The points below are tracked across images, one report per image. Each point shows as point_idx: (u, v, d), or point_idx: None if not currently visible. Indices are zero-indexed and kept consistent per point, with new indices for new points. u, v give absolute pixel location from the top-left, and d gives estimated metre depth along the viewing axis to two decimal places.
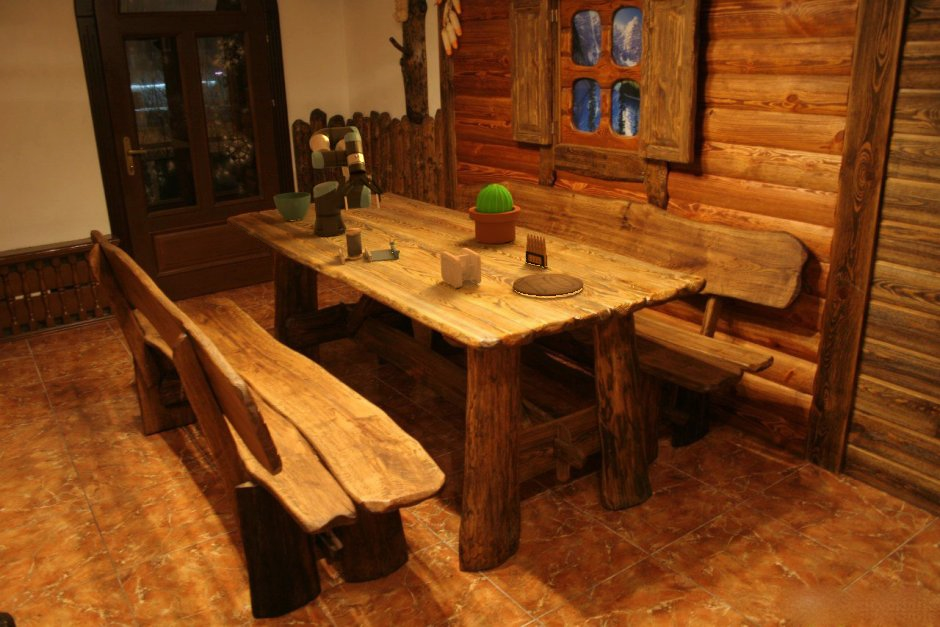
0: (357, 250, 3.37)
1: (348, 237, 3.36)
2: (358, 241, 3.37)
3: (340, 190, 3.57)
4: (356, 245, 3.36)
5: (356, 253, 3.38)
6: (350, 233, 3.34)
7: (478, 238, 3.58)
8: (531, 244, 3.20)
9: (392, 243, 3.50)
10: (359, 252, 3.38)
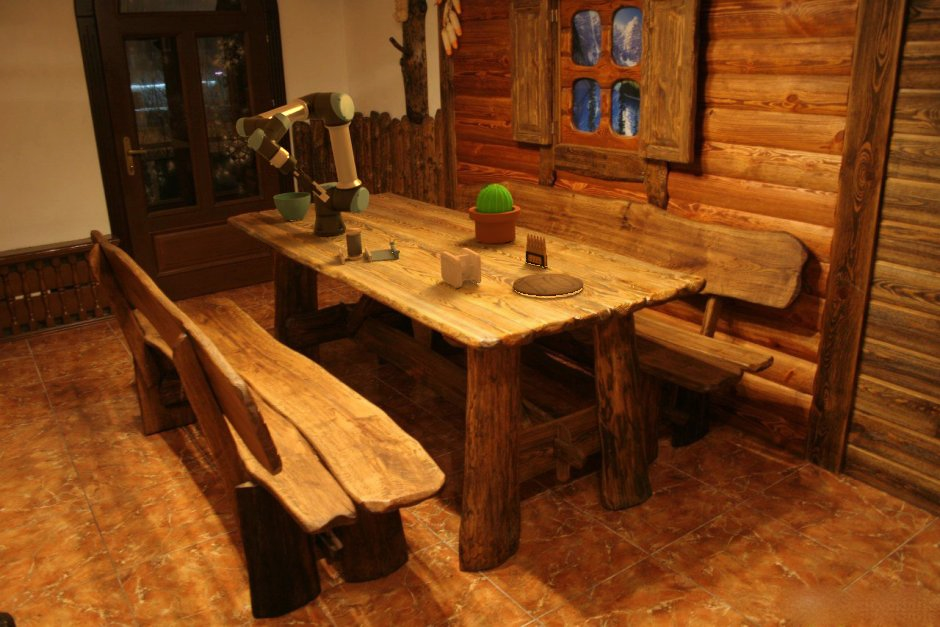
0: (357, 250, 3.37)
1: (348, 237, 3.36)
2: (358, 241, 3.37)
3: None
4: (356, 245, 3.36)
5: (356, 253, 3.38)
6: (350, 233, 3.34)
7: (478, 238, 3.58)
8: (531, 244, 3.20)
9: (392, 243, 3.50)
10: (359, 252, 3.38)
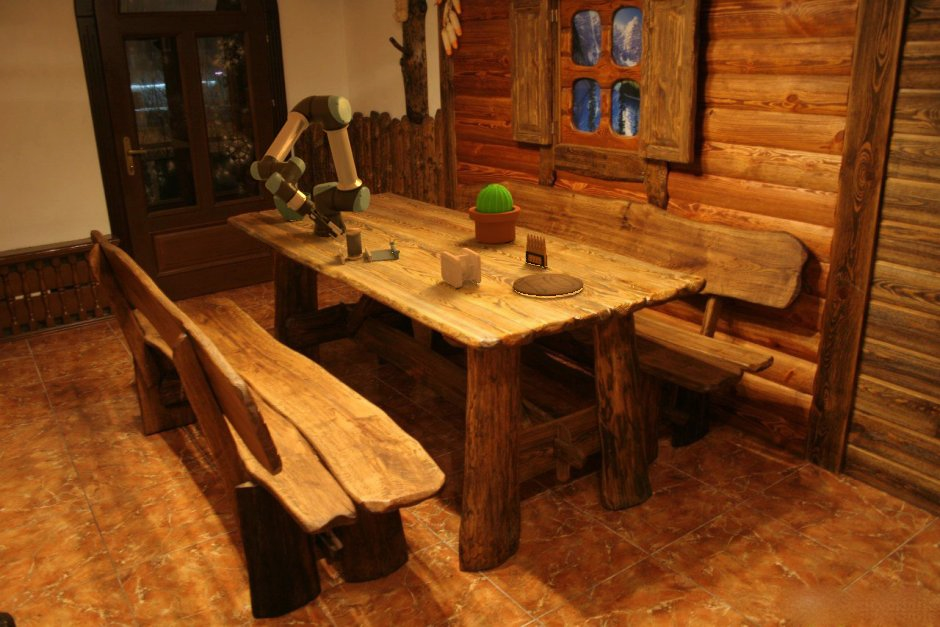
0: (357, 250, 3.37)
1: (348, 237, 3.36)
2: (358, 241, 3.37)
3: None
4: (356, 245, 3.36)
5: (356, 253, 3.38)
6: (350, 233, 3.34)
7: (478, 238, 3.58)
8: (531, 244, 3.20)
9: (392, 243, 3.50)
10: (359, 252, 3.38)
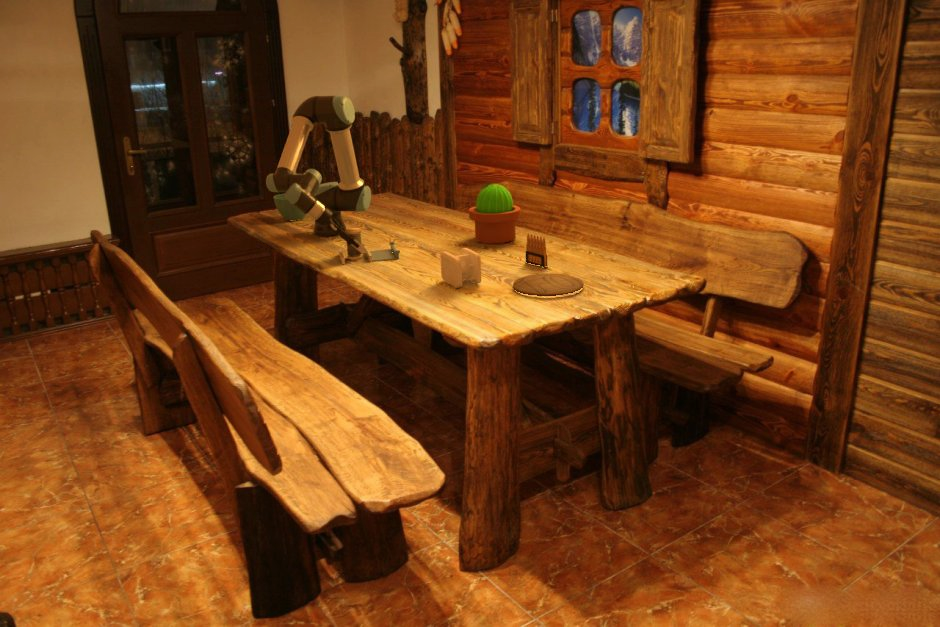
0: (357, 250, 3.37)
1: None
2: (358, 241, 3.37)
3: None
4: None
5: (356, 253, 3.38)
6: (350, 233, 3.34)
7: (478, 238, 3.58)
8: (531, 244, 3.20)
9: (392, 243, 3.50)
10: (359, 252, 3.38)
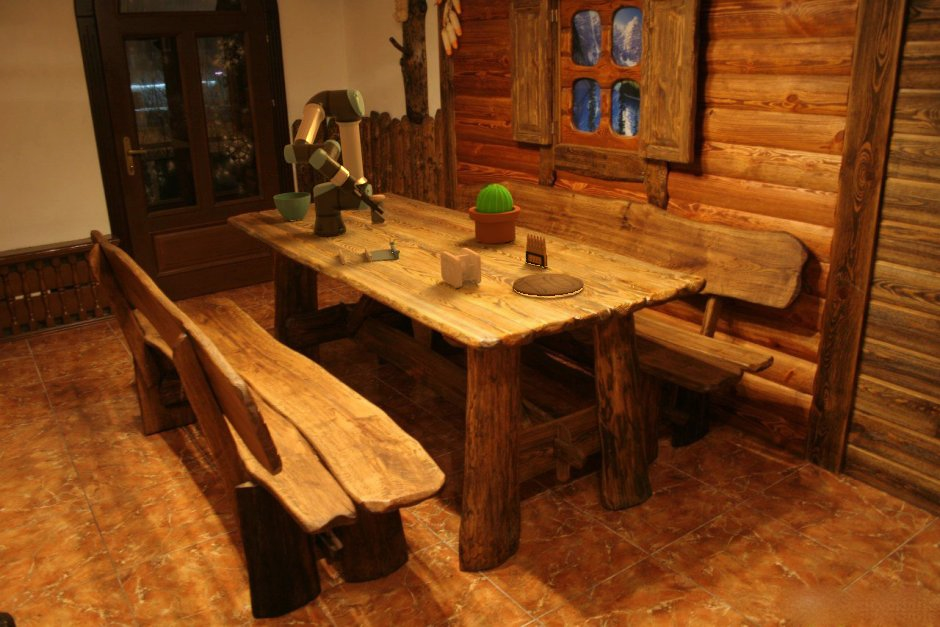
0: (381, 217, 3.35)
1: None
2: (382, 208, 3.35)
3: None
4: None
5: (380, 220, 3.36)
6: (374, 199, 3.32)
7: (478, 238, 3.58)
8: (531, 244, 3.20)
9: (392, 243, 3.50)
10: (383, 219, 3.36)
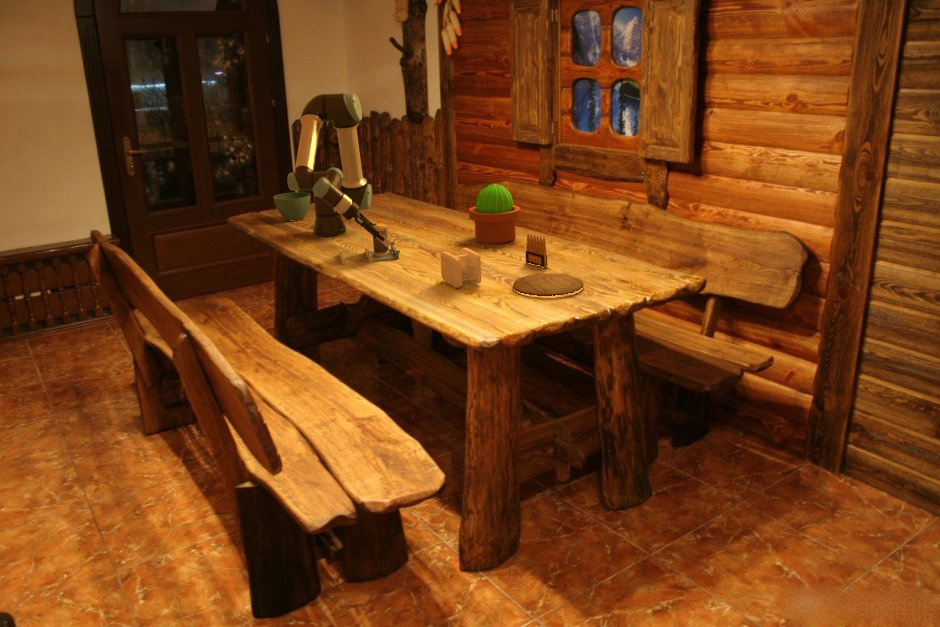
0: (384, 246, 3.40)
1: None
2: None
3: None
4: None
5: (383, 249, 3.40)
6: (377, 229, 3.37)
7: (478, 238, 3.58)
8: (531, 244, 3.20)
9: (392, 243, 3.50)
10: (385, 248, 3.40)
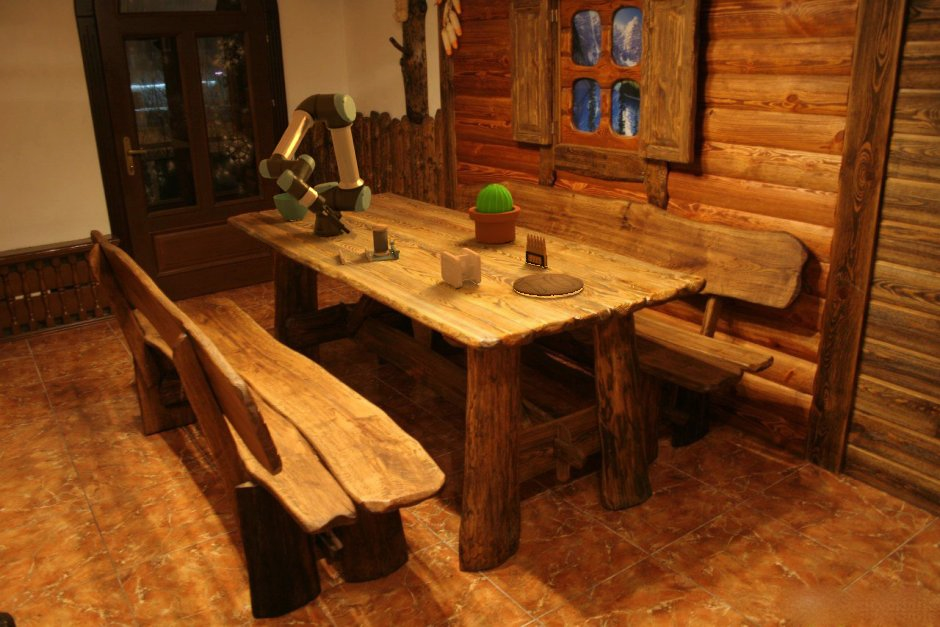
0: (384, 246, 3.40)
1: (375, 233, 3.38)
2: (385, 237, 3.39)
3: None
4: (383, 241, 3.39)
5: (383, 249, 3.40)
6: (377, 229, 3.37)
7: (478, 238, 3.58)
8: (531, 244, 3.20)
9: (392, 243, 3.50)
10: (385, 248, 3.40)
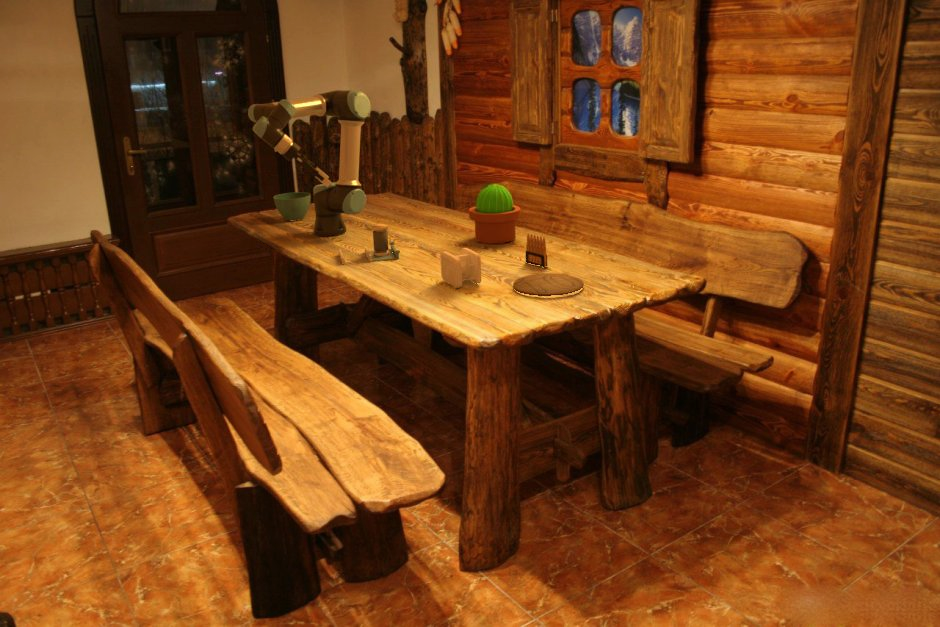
0: (383, 246, 3.40)
1: (375, 233, 3.38)
2: (385, 237, 3.39)
3: None
4: (382, 241, 3.39)
5: (382, 249, 3.40)
6: (377, 229, 3.37)
7: (478, 238, 3.58)
8: (531, 244, 3.20)
9: (392, 243, 3.50)
10: (385, 248, 3.40)
